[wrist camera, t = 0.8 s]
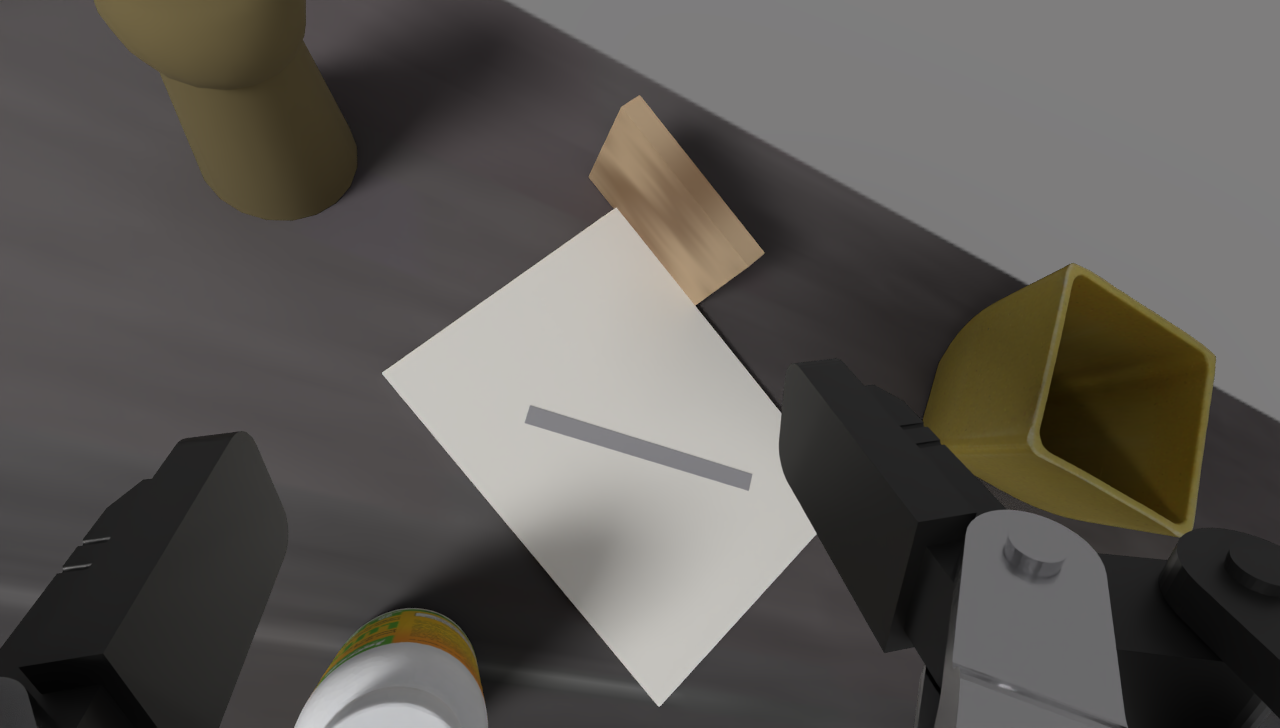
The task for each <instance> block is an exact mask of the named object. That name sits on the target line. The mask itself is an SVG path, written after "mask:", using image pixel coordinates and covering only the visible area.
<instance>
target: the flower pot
mask: <svg viewBox="0 0 1280 728" xmlns="http://www.w3.org/2000/svg"><path fill="white" fill-rule="evenodd" d="M1215 363H1216V356H1215V355H1214V354H1213V353H1212V352H1211V351H1210V350H1209V349H1207V348H1206V347H1205V346H1204V345H1203V344H1201V343H1200V342H1198V341H1197V340H1195V339H1194V338H1193V337H1191V336H1190V335H1188V334H1187V333H1186V332H1184V331H1183V330H1181V329H1180V328H1178V327H1176V326H1175V325H1173V324H1172V323H1170V322H1168V321H1167V320H1165V319H1164V318H1162V317H1160V316H1159V315H1158V314H1156V313H1155V312H1153V311H1152V310H1150V309H1148V308H1147V307H1145V306H1143V305H1142V304H1140V303H1139V302H1137V301H1135V300H1134V299H1133V298H1131V297H1130V296H1128V295H1127V294H1125V293H1124V292H1122V291H1120V290H1119V289H1117V288H1116V287H1114V286H1113V285H1111V284H1110V283H1108V282H1107V281H1106V280H1104V279H1103V278H1101V277H1100V276H1098V275H1096V274H1094V273H1093V272H1091V271H1090V270H1088V269H1085V268H1083V267H1081V266H1079V265H1077V264H1074V263H1071V264H1069V265H1067V266H1065V267H1064V268H1062V269H1060V270H1058V271H1056V272H1054V273H1052V274H1050V275H1048V276H1046V277H1044V278H1042V279H1040V280H1038V281H1036V282H1034V283H1032V284H1030V285H1028V286H1026V287H1024V288H1022V289H1020V290H1018V291H1016V292H1014V293H1012V294H1011V295H1009V296H1007V297H1005V298H1003V299H1001V300H999V301H997V302H995V303H994V304H992V305H990V306H989V307H987V308H985V309H984V310H982V311H981V312H980V313H979V314H977V315H976V316H975V317H974V318H972V319H971V320H970V321H969V322H968V323H967V324H966V325H965V326H964V327H963V329H962V330H961V331H960V332H959V333H958V334H957V336H956V337H955V338H954V340H953V341H952V342H951V344H950V345H949V347H948V349H947V350H946V352H945V354H944V355H943V357H942V359H941V360H940V362H939V364H938V368H937V371H936V375H935V378H934V382H933V386H932V389H931V393H930V396H929V400H928V403H927V407H926V410H925V413H924V417H923V420H922V421H923V422H924V427H929V428H930V430H931V431H932V432H933V433H934V434H935V435H936V436H937V437H938V438H939V439H940V443H941V445H946V446H947V447H948V448H949V449H950V451H951V452H952V453H953V454H954V455H955V456H956V457H957V458H958V459H959V460H960V461H961V462H962V463H963V464H964V465H965V466H966V467H967V468H968V469H969V470H970V472H971V473H972V474H973V475H975V476H977V477H978V478H980V479H982V480H984V481H986V482H987V483H989V484H991V485H993V486H995V487H996V488H998V489H1000V490H1002V491H1004V492H1005V493H1007V494H1009V495H1011V496H1013V497H1015V498H1017V499H1019V500H1021V501H1023V502H1025V503H1028V504H1030V505H1032V506H1034V507H1037V508H1040V509H1042V510H1045V511H1047V512H1050V513H1053V514H1057V515H1060V516H1063V517H1067V518H1071V519H1076V520H1081V521H1086V522H1092V523H1097V524H1103V525H1109V526H1115V527H1121V528H1127V529H1133V530H1139V531H1145V532H1151V533H1157V534H1163V535H1169V536H1174V537H1182V536H1183V535H1184V534H1185V533H1187V532H1189V531H1192V529H1193V525H1194V519H1195V513H1196V504H1197V496H1198V489H1199V482H1200V473H1201V465H1202V459H1203V452H1204V445H1205V437H1206V429H1207V425H1208V417H1209V408H1210V403H1211V397H1212V389H1213V382H1214V376H1215Z"/></svg>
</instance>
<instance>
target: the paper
mask: <svg viewBox="0 0 1280 728" xmlns="http://www.w3.org/2000/svg"><path fill="white" fill-rule="evenodd" d="M382 374H383V376H384V377H385V378H386V379H387V380H388V382H389V383H390V384H391V385H392V387H393V388H394V389H395V390H396V391H397V393H398V394H399V395H400V396H401V397H402V399H403V400H404V401H405V402H406V403H407V405H408V406H409V407H410V408H411V409H412V411H413V412H414V413H415V414H416V415H417V417H418V418H419V419H420V420H421V421H422V423H423V424H424V425H425V426H426V427H427V429H428V430H429V431H430V432H431V433H432V435H433V436H434V437H435V438H436V439H437V441H438V442H439V443H440V444H441V445H442V447H443V448H444V449H445V450H446V452H447V453H448V454H449V455H450V456H451V458H452V459H453V460H454V461H455V462H456V464H457V465H458V466H459V467H460V468H461V470H462V471H463V472H464V473H465V474H466V476H467V477H468V478H469V479H470V480H471V482H472V483H473V484H474V485H475V486H476V488H477V489H478V490H479V491H480V492H481V494H482V495H483V496H484V497H485V498H486V500H487V501H488V502H489V503H490V504H491V506H492V507H493V508H494V509H495V510H496V512H497V513H498V514H499V515H500V517H501V518H502V519H503V520H504V521H505V523H506V524H507V525H508V526H509V527H510V529H511V530H512V531H513V532H514V533H515V535H516V536H517V537H518V538H519V539H520V541H521V542H522V543H523V544H524V545H525V547H526V548H527V549H528V550H529V551H530V553H531V554H532V555H533V556H534V557H535V559H536V560H537V561H538V562H539V563H540V565H541V566H542V567H543V568H544V569H545V571H546V572H547V573H548V574H549V576H550V577H551V578H552V579H553V580H554V582H555V583H556V584H557V585H558V586H559V588H560V589H561V590H562V591H563V592H564V594H565V595H566V596H567V597H568V598H569V600H570V601H571V602H572V603H573V604H574V606H575V607H576V608H577V609H578V610H579V612H580V613H581V614H582V615H583V616H584V618H585V619H586V620H587V621H588V622H589V624H590V625H591V626H592V627H593V628H594V630H595V631H596V632H597V633H598V634H599V636H600V637H601V638H602V639H603V641H604V642H605V643H606V644H607V645H608V647H609V648H610V649H611V650H612V651H613V653H614V654H615V655H616V656H617V657H618V659H619V660H620V661H621V662H622V663H623V665H624V666H625V667H626V668H627V669H628V671H629V672H630V673H631V674H632V675H633V677H634V678H635V679H636V680H637V681H638V683H639V684H640V685H641V686H642V687H643V689H644V690H645V691H646V692H647V693H648V695H649V696H650V697H651V698H652V699H653V701H654V702H655V703H656V704H657V705H658V706H659V707H660V706H661V705H662V704H663V703H664V701H665V700H666V699H667V698H668V697H669V696H670V695H671V694H672V693H673V692H674V690H675V689H676V688H677V687H678V686H679V685H680V684H681V683H682V682H683V680H684V679H685V678H686V677H687V676H688V675H689V674H690V673H691V672H692V671H693V669H694V668H695V667H696V666H697V665H698V664H699V663H700V662H701V661H702V660H703V658H704V657H705V656H706V655H707V654H708V653H709V652H710V651H711V650H712V649H713V647H714V646H715V645H716V644H717V643H718V642H719V641H720V640H721V639H722V638H723V636H724V635H725V634H726V633H727V632H728V631H729V630H730V629H731V628H732V627H733V625H734V624H735V623H736V622H737V621H738V620H739V619H740V618H741V617H742V616H743V614H744V613H745V612H746V611H747V610H748V609H749V608H750V607H751V606H752V604H753V603H754V602H755V601H756V600H757V599H758V598H759V597H760V596H761V595H762V593H763V592H764V591H765V590H766V589H767V588H768V587H769V586H770V585H771V584H772V582H773V581H774V580H775V579H776V578H777V577H778V576H779V575H780V574H781V573H782V571H783V570H784V569H785V568H786V567H787V566H788V565H789V564H790V563H791V562H792V560H793V559H794V558H795V557H796V556H797V555H798V554H799V553H800V552H801V551H802V549H803V548H804V547H805V546H806V545H807V544H808V543H809V542H810V541H811V540H812V538H813V537H814V536H815V535H816V534H817V533H816V532H815V530H814V528H813V526H812V525H811V523H810V521H809V519H808V517H807V516H806V514H805V512H804V510H803V509H802V507H801V505H800V503H799V502H798V500H797V498H796V496H795V495H794V493H793V491H792V489H791V487H790V486H789V484H788V482H787V480H786V478H785V476H784V473H783V470H782V466H781V462H780V456H779V434H780V424H781V414H782V413H781V412H780V411H779V410H778V408H777V407H776V406H775V405H774V403H773V402H772V401H771V400H770V398H769V397H768V396H767V395H766V393H765V392H764V391H763V390H762V388H761V387H760V386H759V385H758V383H757V382H756V381H755V380H754V378H753V377H752V376H751V375H750V373H749V372H748V371H747V370H746V369H745V367H744V366H743V365H742V364H741V362H740V361H739V360H738V359H737V357H736V356H735V355H734V354H733V352H732V351H731V350H730V349H729V347H728V346H727V345H726V344H725V342H724V341H723V340H722V339H721V337H720V336H719V335H718V334H717V332H716V331H715V330H714V329H713V327H712V326H711V325H710V324H709V322H708V321H707V320H706V319H705V317H704V316H703V315H702V314H701V312H700V311H699V310H698V309H697V307H696V306H695V305H694V304H693V302H692V301H691V300H690V299H689V297H688V296H687V295H686V294H685V292H684V291H683V290H682V289H681V287H680V286H679V285H678V284H677V282H676V281H675V280H674V279H673V277H672V276H671V275H670V274H669V272H668V271H667V270H666V269H665V267H664V266H663V265H662V264H661V262H660V261H659V260H658V259H657V257H656V256H655V255H654V254H653V252H652V251H651V250H650V249H649V247H648V246H647V245H646V244H645V242H644V241H643V240H642V239H641V237H640V236H639V235H638V234H637V232H636V231H635V230H634V229H633V227H632V226H631V225H630V224H629V222H628V221H627V220H626V219H625V217H624V216H623V215H622V214H621V212H620V211H619V210H618V209H617V207H616V208H615V209H613V210H612V211H610V212H609V213H608V214H606V215H605V216H603V217H602V218H600V219H599V220H598V221H596V222H595V223H593V224H592V225H591V226H589V227H588V228H586V229H585V230H584V231H582V232H581V233H579V234H578V235H576V236H575V237H574V238H572V239H571V240H569V241H568V242H567V243H565V244H564V245H562V246H561V247H559V248H558V249H557V250H555V251H554V252H552V253H551V254H550V255H548V256H547V257H545V258H544V259H542V260H541V261H540V262H538V263H537V264H535V265H534V266H533V267H531V268H530V269H528V270H527V271H525V272H524V273H523V274H521V275H520V276H518V277H517V278H516V279H514V280H513V281H511V282H510V283H508V284H507V285H506V286H504V287H503V288H501V289H500V290H499V291H497V292H496V293H494V294H493V295H492V296H490V297H489V298H487V299H486V300H484V301H483V302H482V303H480V304H479V305H477V306H476V307H475V308H473V309H472V310H470V311H469V312H467V313H466V314H465V315H463V316H462V317H460V318H459V319H458V320H456V321H455V322H453V323H452V324H450V325H449V326H448V327H446V328H445V329H443V330H442V331H441V332H439V333H438V334H436V335H435V336H433V337H432V338H431V339H429V340H428V341H426V342H425V343H424V344H422V345H421V346H419V347H418V348H417V349H415V350H414V351H412V352H411V353H409V354H408V355H407V356H405V357H404V358H402V359H401V360H400V361H398V362H397V363H395V364H394V365H392V366H391V367H390V368H388V369H387V370H385V371H384V372H383V373H382Z"/></svg>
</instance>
